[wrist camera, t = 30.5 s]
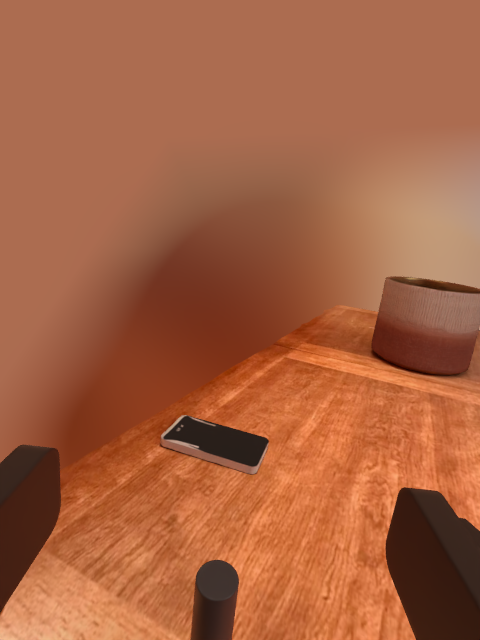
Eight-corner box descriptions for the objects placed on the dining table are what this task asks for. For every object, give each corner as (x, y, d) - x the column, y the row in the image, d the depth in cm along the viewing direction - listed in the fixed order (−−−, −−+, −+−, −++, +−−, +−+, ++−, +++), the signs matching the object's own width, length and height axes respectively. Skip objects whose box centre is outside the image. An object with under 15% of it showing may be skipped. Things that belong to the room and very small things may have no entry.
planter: (366, 340, 119) (380, 273, 113) (451, 353, 113) (469, 284, 107) (374, 367, 95) (391, 283, 89) (482, 386, 89) (507, 298, 83)
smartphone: (256, 468, 49) (158, 437, 53) (255, 476, 49) (158, 445, 53) (269, 438, 56) (182, 414, 60) (268, 446, 56) (182, 421, 60)
